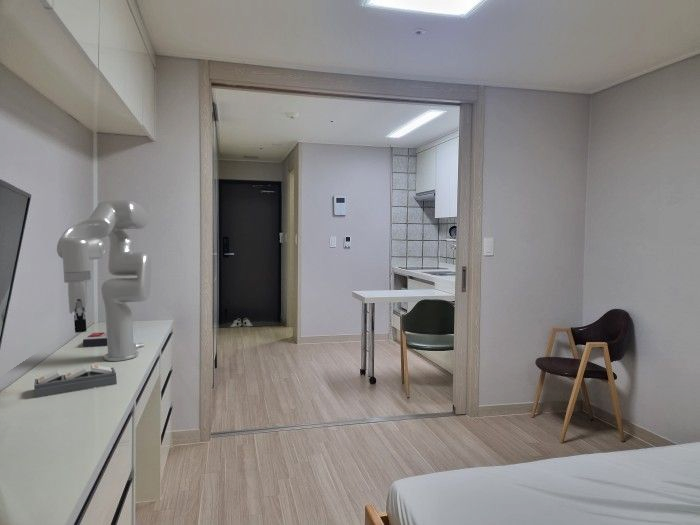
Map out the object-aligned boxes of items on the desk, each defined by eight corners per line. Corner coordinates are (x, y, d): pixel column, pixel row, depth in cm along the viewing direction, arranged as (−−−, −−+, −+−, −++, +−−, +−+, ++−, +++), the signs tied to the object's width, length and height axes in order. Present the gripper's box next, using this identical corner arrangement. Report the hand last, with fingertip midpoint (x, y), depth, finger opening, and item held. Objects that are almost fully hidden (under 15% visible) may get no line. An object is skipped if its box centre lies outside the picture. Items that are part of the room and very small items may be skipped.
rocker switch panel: (113, 376, 172) (113, 366, 171) (116, 384, 164) (116, 373, 164) (35, 389, 160) (34, 378, 159) (35, 397, 152) (34, 386, 152)
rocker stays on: (59, 372, 161) (57, 369, 161) (60, 376, 157) (58, 372, 157) (39, 381, 158) (37, 378, 158) (39, 385, 154) (37, 382, 154)
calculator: (118, 330, 230) (110, 336, 215) (118, 340, 230) (110, 346, 215) (92, 332, 227) (82, 338, 213) (93, 341, 227) (82, 348, 213)
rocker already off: (109, 371, 169) (110, 367, 169) (110, 374, 165) (112, 370, 165) (90, 367, 166) (91, 364, 166) (91, 371, 162) (93, 367, 162)
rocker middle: (85, 368, 165) (83, 365, 164) (86, 372, 161) (84, 368, 161) (66, 377, 162) (64, 374, 162) (67, 381, 158) (65, 377, 158)
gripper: (64, 275, 164) (67, 325, 166) (63, 280, 149) (67, 335, 151) (89, 273, 168) (92, 323, 169) (91, 278, 153) (94, 332, 154)
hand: (80, 329), depth 160 cm, fingers open, 9 cm apart
